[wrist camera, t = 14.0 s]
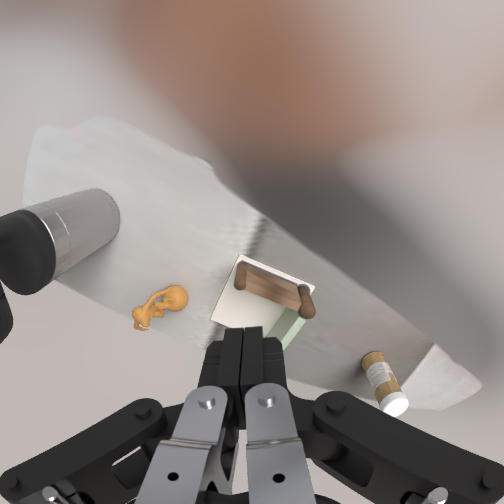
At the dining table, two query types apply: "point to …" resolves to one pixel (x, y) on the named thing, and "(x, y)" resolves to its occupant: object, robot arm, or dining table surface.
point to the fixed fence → (274, 289)
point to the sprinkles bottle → (384, 384)
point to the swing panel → (287, 326)
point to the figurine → (160, 306)
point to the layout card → (251, 301)
